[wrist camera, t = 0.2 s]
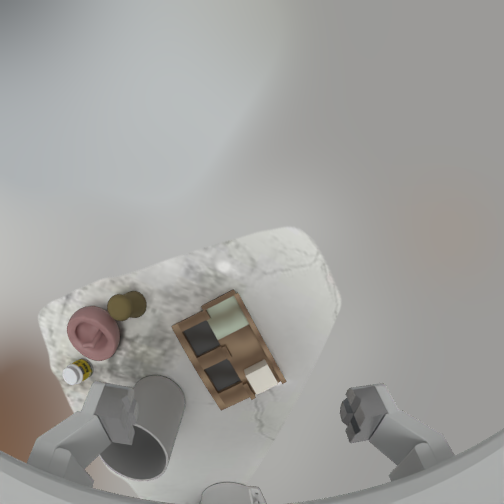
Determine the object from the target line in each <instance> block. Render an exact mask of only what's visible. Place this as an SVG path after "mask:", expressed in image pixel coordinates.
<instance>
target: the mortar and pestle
mask: <svg viewBox="0 0 504 504" xmlns="http://www.w3.org/2000/svg"><path fill="white" fill-rule="evenodd" d="M67 334H68V337H69V339H70V341H71V343H72V345H73V346H74V347H75V348H76V349H77V350H78V351H79V352H80V353H81V354H82V355H84V356H86V357H88V358H90V359H92V360H96V361H102V360H106V359H108V358H110V357H111V356H112V355H113V354H114V353H115V351H116V349H117V347H118V345H119V340H120V332H119V328H118V325H117V323H116V321H115V319H113V318H112V317H111V316H110V314H109V313H108V312H107V311H106V310H104V309H102V308H99V307H95V306H88V307H84V308H81V309H79V310H78V311H76V312H75V313H74V314H73V315H72V317H71V318H70V320H69V323H68V326H67Z"/></svg>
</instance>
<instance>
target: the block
mask: <svg viewBox="0 0 504 504" xmlns="http://www.w3.org/2000/svg"><path fill="white" fill-rule="evenodd" d="M244 372H245V376H246V378H247V379H248V381H249V383H250V384H251V386H252V388H253V389H254V391H255V393H256V394H257V395H258V394H260V393H262V392H264V391H266V390H268V389H270V388H272V387H274V386H276V385H278V382H277V381H276V379H275V377H274V375H273V373H272V372H271V370H270V368H269V366H268V365H267V363H266V361H265V359H264V360H262V361H260V362H258V363H256V364H254V365H252V366H250V367H248V368H246V369H244Z"/></svg>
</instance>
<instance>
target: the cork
mask: <svg viewBox="0 0 504 504" xmlns="http://www.w3.org/2000/svg"><path fill="white" fill-rule="evenodd" d="M107 309H108V312H109V314H110V316H111V317H112V318H113V319H115V320H117V321H124V320H127V319H128V318H129V317H130V318H137V317H140V316H142V315H143V314H144V312H145V310H146V300H145V298H144V296H143V295H142V294H140V293H139V292H136V291H131V292H128V293H126V294H124V295H122V294H117V295H114V296H113V297H111V298H110V300H109V301H108V305H107Z"/></svg>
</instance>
